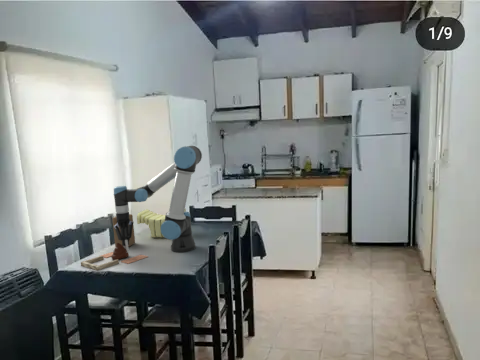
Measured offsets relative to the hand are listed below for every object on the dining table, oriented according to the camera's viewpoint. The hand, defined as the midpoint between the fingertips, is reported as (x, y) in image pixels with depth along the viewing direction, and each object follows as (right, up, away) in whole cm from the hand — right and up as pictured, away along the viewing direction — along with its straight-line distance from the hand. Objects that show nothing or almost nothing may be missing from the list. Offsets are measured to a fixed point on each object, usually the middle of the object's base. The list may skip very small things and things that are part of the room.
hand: (126, 250), depth 249 cm
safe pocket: (-11, -5, -13) cm, 18 cm away
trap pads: (-1, -3, -2) cm, 4 cm away
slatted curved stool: (+14, +3, +43) cm, 46 cm away
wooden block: (-7, -1, +24) cm, 25 cm away
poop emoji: (-3, -4, -3) cm, 6 cm away
